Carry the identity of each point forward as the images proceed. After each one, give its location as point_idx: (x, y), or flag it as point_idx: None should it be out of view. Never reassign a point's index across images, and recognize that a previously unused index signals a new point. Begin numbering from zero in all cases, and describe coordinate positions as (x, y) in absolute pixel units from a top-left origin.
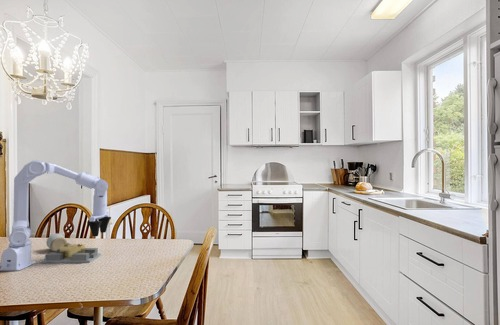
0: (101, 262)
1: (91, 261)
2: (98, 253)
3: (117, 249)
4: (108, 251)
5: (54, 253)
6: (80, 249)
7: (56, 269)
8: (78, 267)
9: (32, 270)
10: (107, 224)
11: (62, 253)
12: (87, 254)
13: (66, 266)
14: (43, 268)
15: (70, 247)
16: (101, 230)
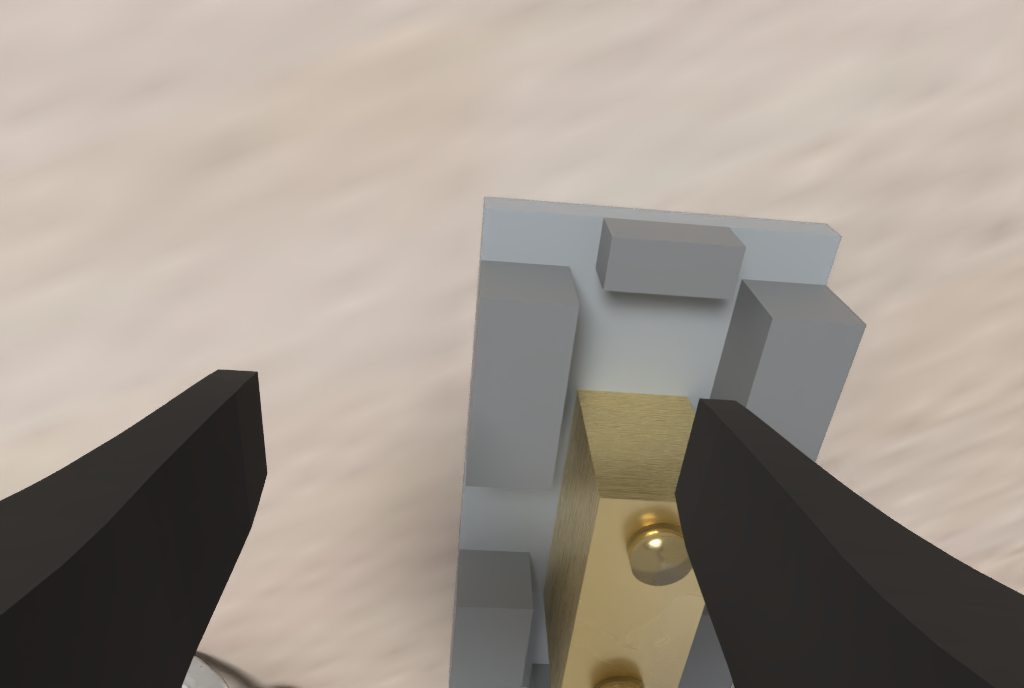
0: (866, 46)
1: (776, 220)
2: (485, 244)
3: (93, 27)
4: (244, 156)
5: (688, 679)
6: None
7: (959, 476)
8: (986, 286)
9: None
10: (67, 494)
11: (705, 613)
12: (827, 317)
13: (886, 429)
14: None
15: (693, 615)
16: (251, 496)
